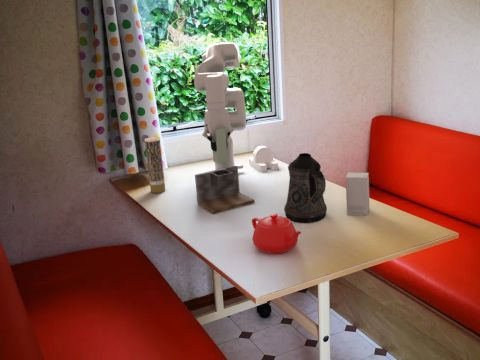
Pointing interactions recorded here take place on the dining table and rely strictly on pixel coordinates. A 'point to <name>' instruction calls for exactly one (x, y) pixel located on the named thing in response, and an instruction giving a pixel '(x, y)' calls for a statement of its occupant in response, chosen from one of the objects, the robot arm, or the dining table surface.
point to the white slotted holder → (263, 159)
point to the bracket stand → (220, 190)
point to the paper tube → (155, 164)
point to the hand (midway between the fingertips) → (219, 149)
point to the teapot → (274, 234)
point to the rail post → (220, 147)
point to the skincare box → (357, 193)
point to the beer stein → (305, 191)
